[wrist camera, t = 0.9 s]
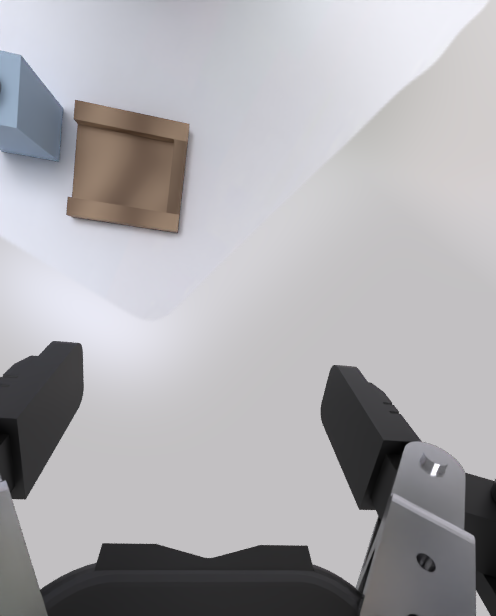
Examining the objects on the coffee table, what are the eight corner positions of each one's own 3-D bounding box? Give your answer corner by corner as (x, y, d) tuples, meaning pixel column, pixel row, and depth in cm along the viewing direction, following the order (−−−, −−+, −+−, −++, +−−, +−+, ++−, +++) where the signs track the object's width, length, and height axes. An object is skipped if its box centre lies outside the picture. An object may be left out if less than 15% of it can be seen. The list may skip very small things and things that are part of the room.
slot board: (72, 216, 34) (66, 214, 32) (80, 108, 32) (75, 99, 31) (177, 232, 35) (177, 231, 34) (188, 130, 34) (189, 123, 33)
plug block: (2, 151, 32) (-84, 99, 22) (5, 96, 31) (-82, 16, 21) (59, 161, 33) (2, 116, 22) (63, 108, 32) (6, 37, 22)
